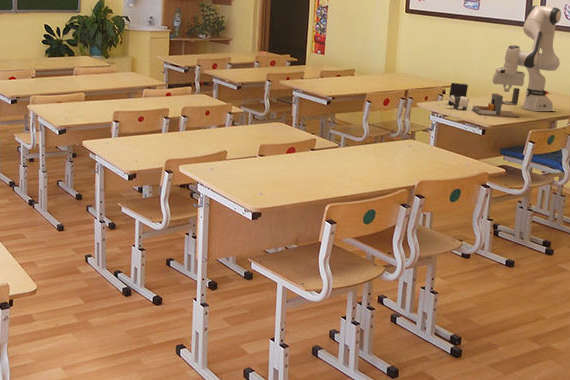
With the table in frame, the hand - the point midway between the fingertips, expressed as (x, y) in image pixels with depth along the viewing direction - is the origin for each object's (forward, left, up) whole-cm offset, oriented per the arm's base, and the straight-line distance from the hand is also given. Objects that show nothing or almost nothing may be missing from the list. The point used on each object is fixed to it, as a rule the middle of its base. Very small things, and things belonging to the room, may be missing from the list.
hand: (506, 91), depth 540 cm
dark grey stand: (+6, 0, -15) cm, 16 cm away
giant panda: (+29, -8, -16) cm, 34 cm away
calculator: (+26, -22, -16) cm, 37 cm away
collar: (+9, 0, -14) cm, 17 cm away
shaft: (-2, 0, -9) cm, 9 cm away
